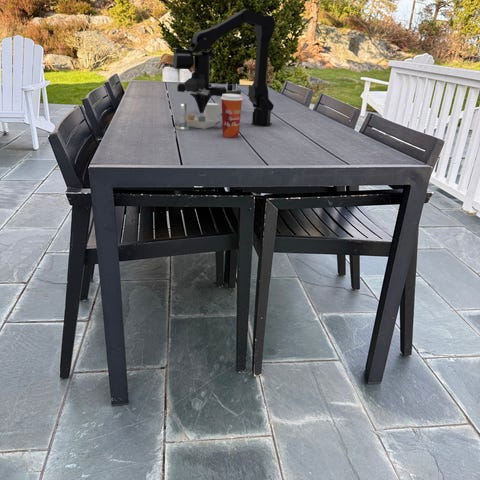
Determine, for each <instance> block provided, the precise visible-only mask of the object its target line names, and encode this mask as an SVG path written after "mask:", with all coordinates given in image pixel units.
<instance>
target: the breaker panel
mask: <svg viewBox="0 0 480 480" xmlns="http://www.w3.org/2000/svg"><path fill="white" fill-rule="evenodd" d="M187 126H189V128H197V129H202V130H205V129H208V128H211V127H216V123H215V121H214V120H207V119H205V116H203V115H201V116H198V118H197V117H195V114H188V115H187Z"/></svg>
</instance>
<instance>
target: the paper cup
mask: <svg viewBox="0 0 480 480" xmlns="http://www.w3.org/2000/svg"><path fill="white" fill-rule="evenodd" d="M221 99H222V114H221V123H222V124H221V126H222V128H221V129H222V130H221V131H222V136H223V137H224V138H231V137H234V138H238V137H239V132H240V123H241V114H242V113H241V112H242V105H243V100H244V98H243V96H242V94H241V95H239V94H222V97H221Z"/></svg>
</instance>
